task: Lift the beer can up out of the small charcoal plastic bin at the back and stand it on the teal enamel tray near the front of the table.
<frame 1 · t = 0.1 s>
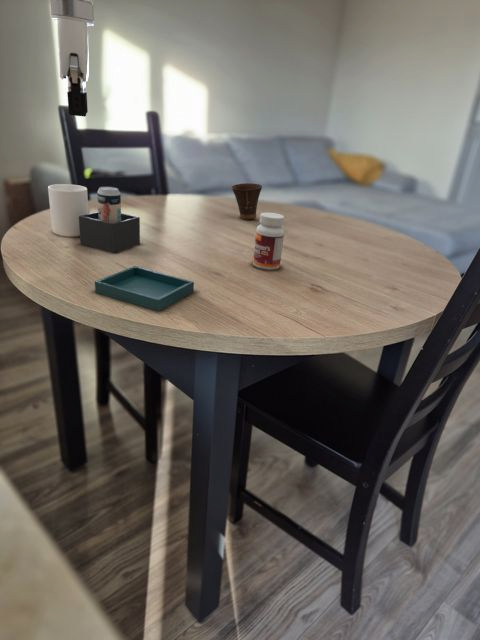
hand: (78, 114, 98), 26 cm above the table, tool pointing down, fingers open, 9 cm apart
beer can: (110, 243, 109), resting on bin
bin: (110, 244, 109), on the table
mug: (69, 231, 115), on the table
pill bottle: (266, 266, 108), on the table
tray: (145, 292, 87), on the table
cup: (244, 219, 147), on the table
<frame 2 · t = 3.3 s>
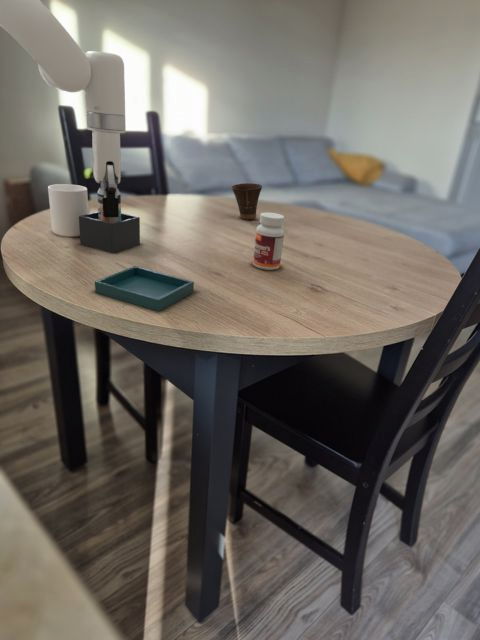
hand: (109, 212, 106), 7 cm above the table, tool pointing down, fingers closed on beer can, 4 cm apart
beer can: (110, 243, 109), resting on bin, touching gripper
everything else where it was.
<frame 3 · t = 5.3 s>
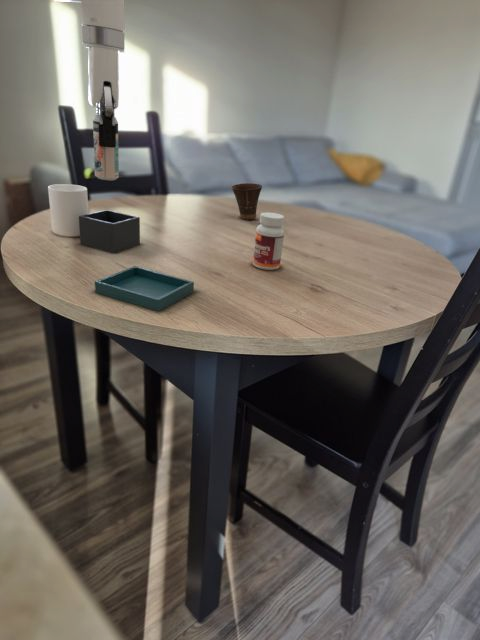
hand: (106, 144, 98), 21 cm above the table, tool pointing down, fingers closed on beer can, 4 cm apart
beer can: (106, 179, 102), point 14 cm above the table, touching gripper
everything else where it was.
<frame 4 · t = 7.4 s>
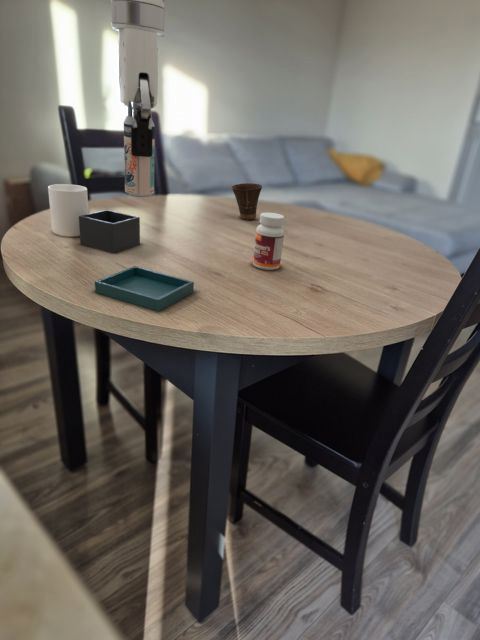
hand: (139, 152, 79), 23 cm above the table, tool pointing down, fingers closed on beer can, 4 cm apart
beer can: (139, 196, 82), point 16 cm above the table, touching gripper
everything else where it was.
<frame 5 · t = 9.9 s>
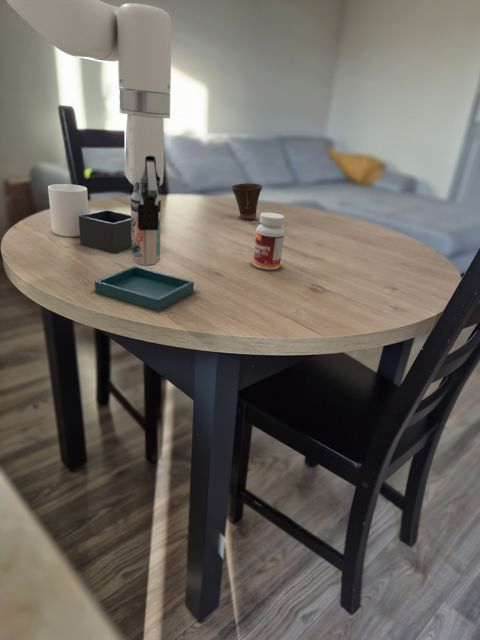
hand: (145, 224, 81), 12 cm above the table, tool pointing down, fingers closed on beer can, 4 cm apart
beer can: (146, 263, 84), point 5 cm above the table, touching gripper
everything else where it was.
when the fingers open (7 cm above the table, at t = 11.6 s): beer can stays where it is, resting on tray.
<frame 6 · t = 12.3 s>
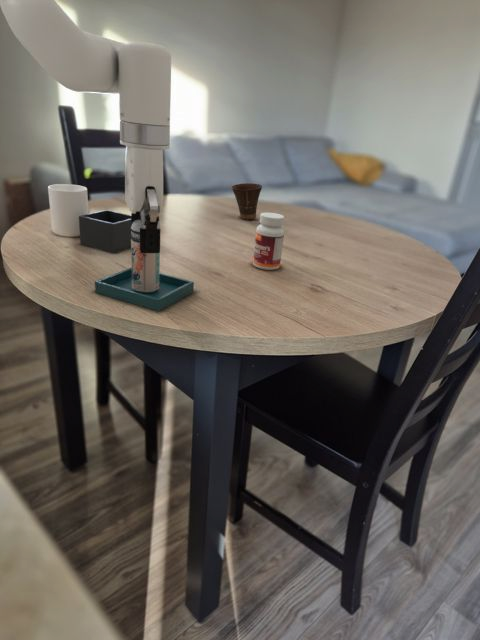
hand: (145, 243, 83), 9 cm above the table, tool pointing down, fingers open, 9 cm apart
beer can: (145, 290, 87), resting on tray
everything else where it was.
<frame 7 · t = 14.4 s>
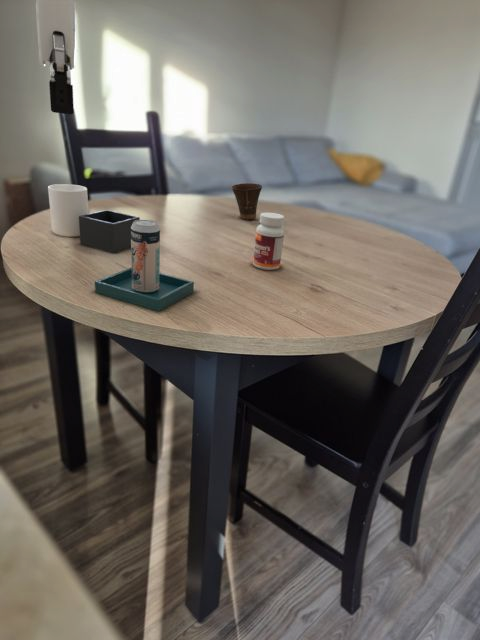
hand: (62, 110, 77), 28 cm above the table, tool pointing down, fingers open, 9 cm apart
nothing on the table moved.
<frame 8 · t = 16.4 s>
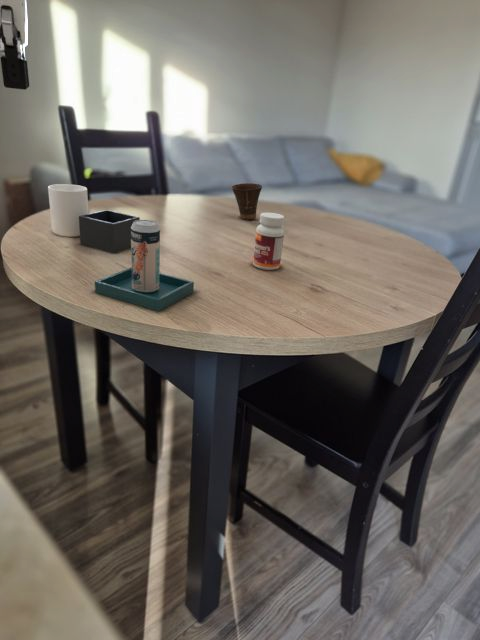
hand: (17, 87, 78), 30 cm above the table, tool pointing down, fingers open, 9 cm apart
nothing on the table moved.
at the end: beer can inside the target area in the tray (0.0 cm from its centre), point 0.3 cm above the tray's base; beer can tilted 0°; the gripper is holding nothing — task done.
